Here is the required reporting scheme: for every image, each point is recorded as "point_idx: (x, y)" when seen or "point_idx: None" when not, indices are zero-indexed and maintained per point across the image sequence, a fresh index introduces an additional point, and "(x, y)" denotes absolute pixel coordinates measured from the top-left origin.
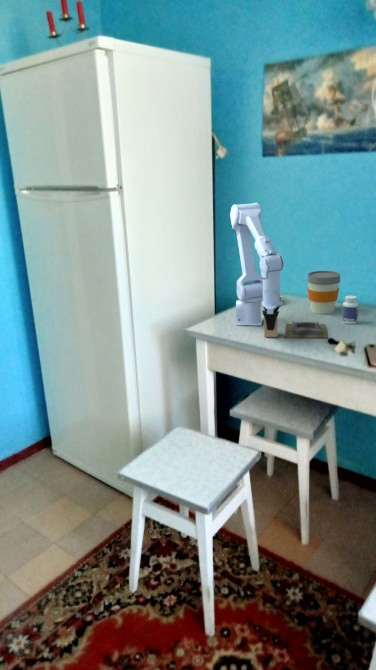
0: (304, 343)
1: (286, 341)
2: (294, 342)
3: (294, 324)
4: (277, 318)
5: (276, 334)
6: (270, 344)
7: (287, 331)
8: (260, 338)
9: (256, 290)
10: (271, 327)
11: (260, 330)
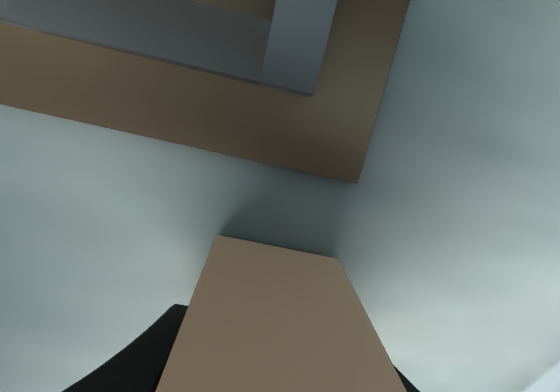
0: (553, 24)
1: (449, 189)
2: (496, 120)
3: (77, 4)
4: (306, 379)
5: (343, 276)
6: (479, 331)
7: (209, 130)
8: None
9: None
10: None
11: None
